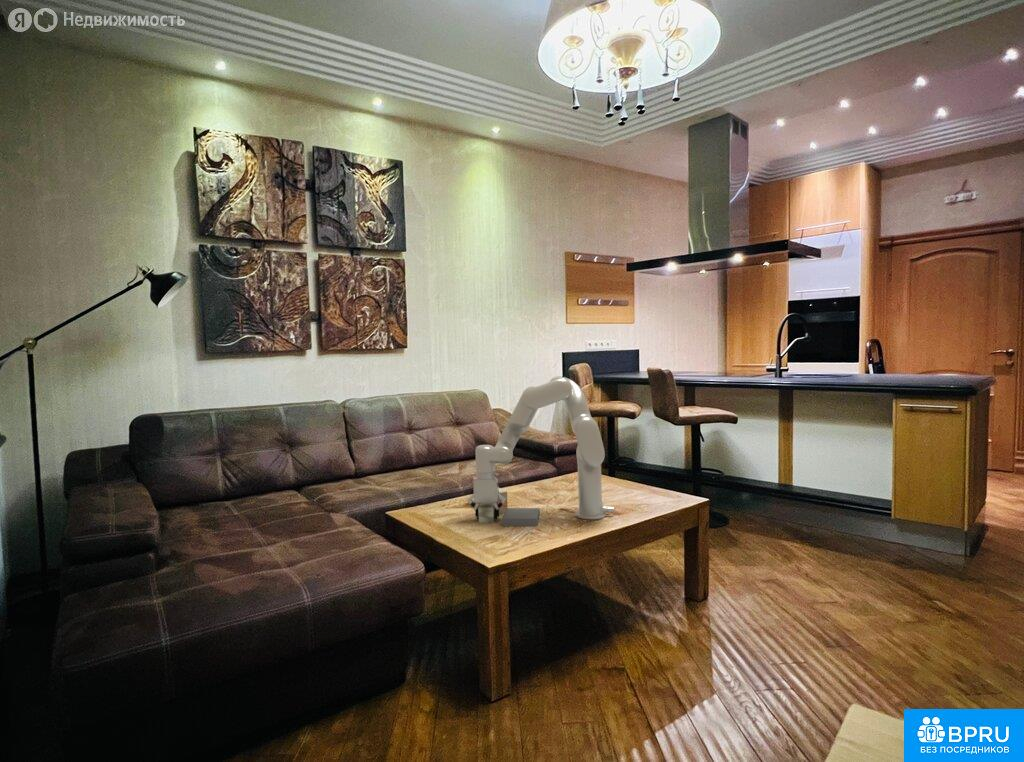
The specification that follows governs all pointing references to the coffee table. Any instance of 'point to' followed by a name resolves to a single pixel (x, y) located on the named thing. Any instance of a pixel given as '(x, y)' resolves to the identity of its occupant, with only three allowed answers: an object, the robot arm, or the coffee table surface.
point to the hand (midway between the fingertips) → (487, 518)
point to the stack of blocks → (503, 493)
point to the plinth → (521, 517)
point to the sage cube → (486, 513)
